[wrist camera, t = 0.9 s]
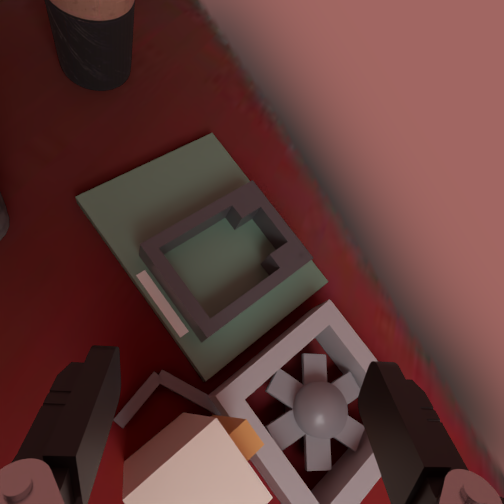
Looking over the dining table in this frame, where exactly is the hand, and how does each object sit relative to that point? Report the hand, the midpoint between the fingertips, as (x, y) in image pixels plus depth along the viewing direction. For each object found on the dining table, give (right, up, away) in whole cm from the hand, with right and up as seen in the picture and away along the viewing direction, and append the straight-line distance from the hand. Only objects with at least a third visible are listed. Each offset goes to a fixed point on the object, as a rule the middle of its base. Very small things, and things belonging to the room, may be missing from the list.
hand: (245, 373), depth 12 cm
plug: (-6, -11, +15) cm, 20 cm away
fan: (+1, -9, +18) cm, 20 cm away
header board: (-4, +4, +22) cm, 23 cm away
